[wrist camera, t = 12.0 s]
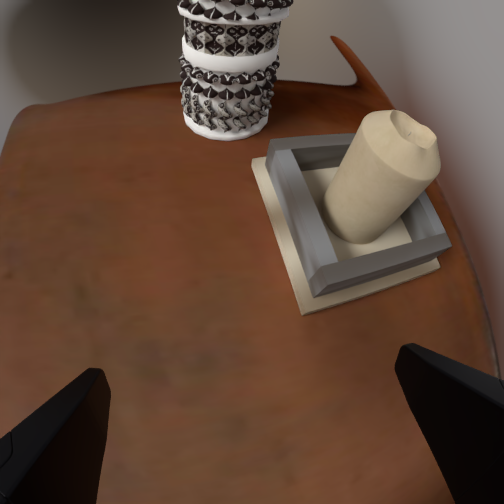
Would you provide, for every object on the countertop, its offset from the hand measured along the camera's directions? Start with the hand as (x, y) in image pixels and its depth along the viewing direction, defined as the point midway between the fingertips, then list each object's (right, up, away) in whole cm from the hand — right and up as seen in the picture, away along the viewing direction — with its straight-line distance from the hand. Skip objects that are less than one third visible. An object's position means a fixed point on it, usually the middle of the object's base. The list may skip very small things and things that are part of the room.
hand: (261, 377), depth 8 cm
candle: (+8, +6, +15) cm, 18 cm away
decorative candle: (-3, +17, +20) cm, 27 cm away
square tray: (+8, +6, +16) cm, 19 cm away
